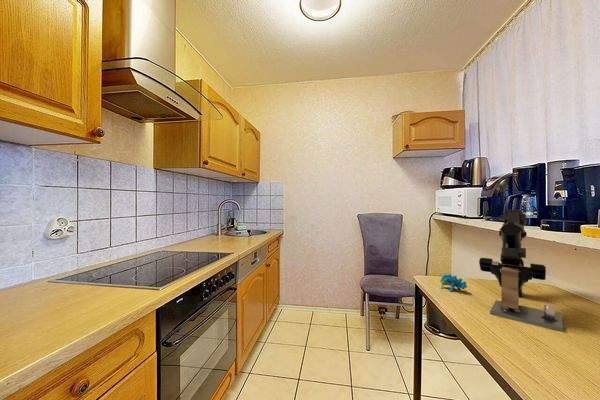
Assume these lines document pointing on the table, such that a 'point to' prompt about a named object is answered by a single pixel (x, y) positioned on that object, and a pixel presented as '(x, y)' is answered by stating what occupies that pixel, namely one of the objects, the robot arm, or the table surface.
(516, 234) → the robot arm
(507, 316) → the bolt plate
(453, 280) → the teal bumpy cluster
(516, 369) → the table surface
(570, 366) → the table surface
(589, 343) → the table surface
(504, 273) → the post
